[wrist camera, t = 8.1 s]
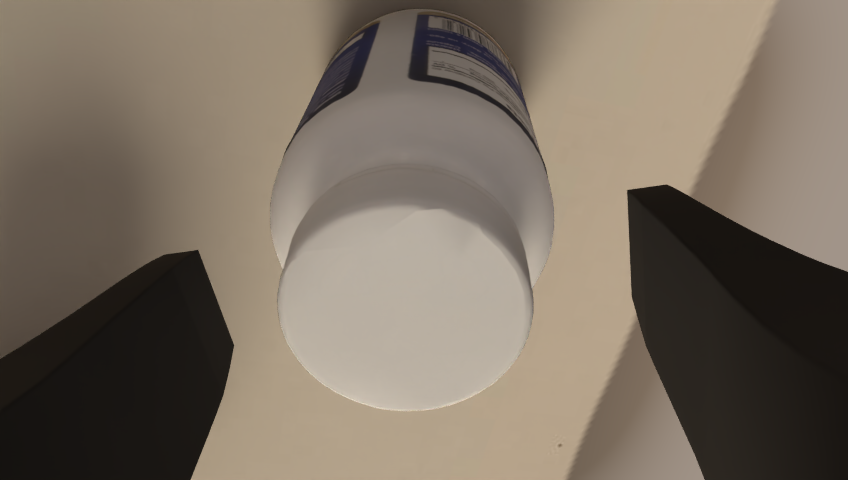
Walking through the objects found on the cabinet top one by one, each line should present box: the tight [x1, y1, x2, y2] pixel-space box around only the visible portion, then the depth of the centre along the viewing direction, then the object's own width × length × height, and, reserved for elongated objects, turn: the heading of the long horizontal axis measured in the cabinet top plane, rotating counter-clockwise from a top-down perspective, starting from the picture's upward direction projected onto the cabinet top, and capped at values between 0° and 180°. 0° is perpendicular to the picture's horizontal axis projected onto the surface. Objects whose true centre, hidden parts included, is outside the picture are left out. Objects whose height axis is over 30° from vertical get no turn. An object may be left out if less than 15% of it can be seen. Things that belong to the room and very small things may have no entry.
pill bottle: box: [270, 9, 554, 411], centre depth 15 cm, size 5×5×10 cm
